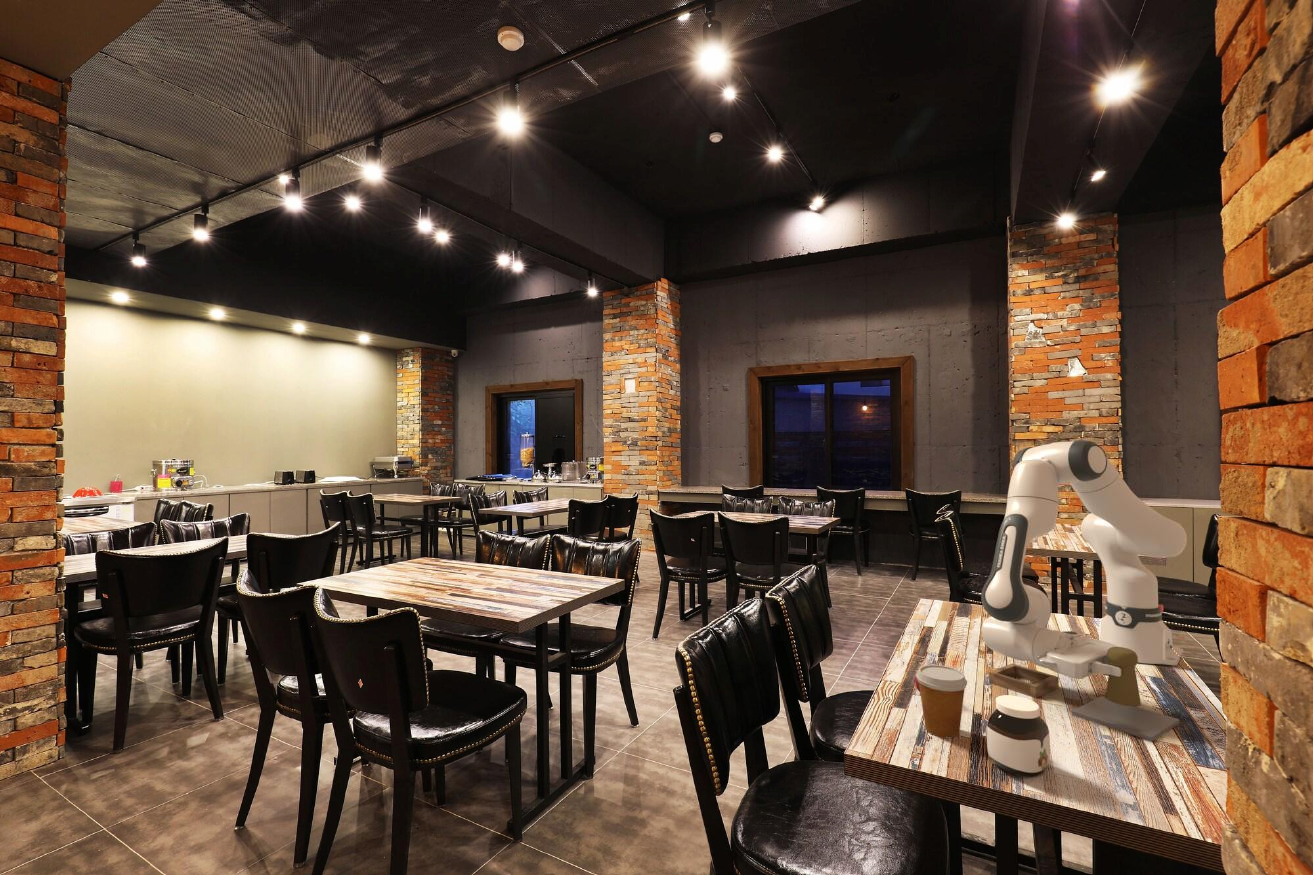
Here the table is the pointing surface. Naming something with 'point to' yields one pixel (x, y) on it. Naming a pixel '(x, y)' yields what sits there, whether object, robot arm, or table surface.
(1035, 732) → the spread jar
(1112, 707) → the coaster
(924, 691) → the disposable coffee cup
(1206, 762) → the table surface
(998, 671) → the square wooden frame
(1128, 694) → the cork
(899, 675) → the table surface
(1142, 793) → the table surface
